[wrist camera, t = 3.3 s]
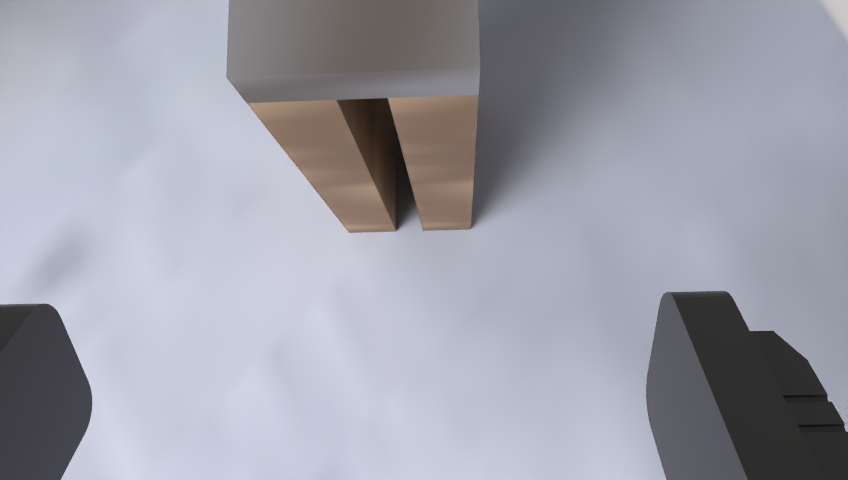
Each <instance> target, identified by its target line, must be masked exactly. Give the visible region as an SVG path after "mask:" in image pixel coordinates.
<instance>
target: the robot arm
mask: <svg viewBox="0 0 848 480" xmlns="http://www.w3.org/2000/svg"><path fill="white" fill-rule="evenodd" d="M646 398H647V409H648V416H649V421H650V425H651V429H652V432H653V436H654V439H655V443H656V446H657V449H658V453H659V456H660V459H661V463H662V466H663V469H664V473H665V476H666V479H667V480H848V432H846V431H845V428H844V425H845V424H844V422H843V420H842V419H841V417H840V415H839V414H838V412H837V410H836V408H835V407H834V405H833V403H832V402H828V399H827V393H826V391H825V390H824V388H823V386H822V384H821V383H820V381H819V379H818V378H817V376H816V374H815V372H814V371H813V369H812V367H811V366H810V364H809V362H808V360H807V359H805V358H804V357H803V356H802V355H801V354H800V353H798V352H797V351H796V350H795V349H794V348H793V347H791V346H790V345H789V344H788V343H787V342H785V341H784V340H783V339H782V338H781V337H780V336H778V335H777V334H776V333H775V332H774V331H749V329H748V327H747V325H746V323H745V321H744V319H743V317H742V315H741V313H740V311H739V309H738V307H737V305H736V304H735V302H734V300H733V298H732V296H731V295H730V294H729V293H728V292H726V291H706V292H666V293H665V294H664V295H663V296H662V298H661V302H660V306H659V311H658V317H657V323H656V329H655V334H654V340H653V346H652V352H651V357H650V363H649V369H648V375H647V384H646ZM91 411H92V394H91V388H90V385H89V382H88V380H87V377H86V375H85V373H84V370H83V368H82V366H81V363H80V361H79V359H78V356H77V354H76V352H75V349H74V347H73V345H72V343H71V340H70V338H69V336H68V333H67V331H66V329H65V326H64V324H63V322H62V319H61V317H60V315H59V313H58V312H57V310H56V309H55V308H54V307H53V306H51V305H49V304H8V305H0V480H61V478H62V476H63V474H64V472H65V470H66V468H67V466H68V465H69V463H70V461H71V459H72V457H73V455H74V453H75V451H76V449H77V447H78V445H79V444H80V442H81V440H82V438H83V436H84V434H85V432H86V430H87V427H88V424H89V421H90V417H91Z"/></svg>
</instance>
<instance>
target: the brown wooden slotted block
mask: <svg viewBox="0 0 848 480" xmlns="http://www.w3.org/2000/svg"><path fill="white" fill-rule="evenodd" d="M227 78H228V80H229V81H230V82H231V84H232V85H233V86H234V87H235V89H236V90H237V91H238V92H239V94H240V95H241V96H242V97H243V99H244V100H245V101H246V103H247V104H248V105H249V106H250V108H251V109H252V110H253V111H254V113H255V114H256V115H257V117H258V118H259V119H260V120H261V122H262V123H263V124H264V125H265V127H266V128H267V129H268V130H269V132H270V133H271V134H272V136H273V137H274V138H275V139H276V141H277V142H278V143H279V144H280V146H281V147H282V148H283V149H284V151H285V152H286V153H287V155H288V156H289V157H290V158H291V160H292V161H293V162H294V163H295V165H296V166H297V167H298V168H299V170H300V171H301V172H302V174H303V175H304V176H305V177H306V179H307V180H308V181H309V182H310V184H311V185H312V186H313V188H314V189H315V190H316V191H317V193H318V194H319V195H320V196H321V198H322V199H323V200H324V201H325V203H326V204H327V205H328V207H329V208H330V209H331V210H332V212H333V213H334V214H335V215H336V217H337V218H338V219H339V220H340V222H341V223H342V224H343V226H344V227H345V228H346V229H347V231H348V232H349V233H351V232H387V231H396V170H395V127H396V130H397V134H398V138H399V142H400V145H401V149H402V153H403V157H404V160H405V164H406V168H407V172H408V175H409V179H410V183H411V186H412V190H413V194H414V198H415V201H416V205H417V209H418V213H419V216H420V220H421V224H422V228H423V230H459V229H471V218H472V202H473V185H474V168H475V151H476V135H477V118H478V101H479V84H480V39H479V10H478V0H229V20H228V49H227Z"/></svg>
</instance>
